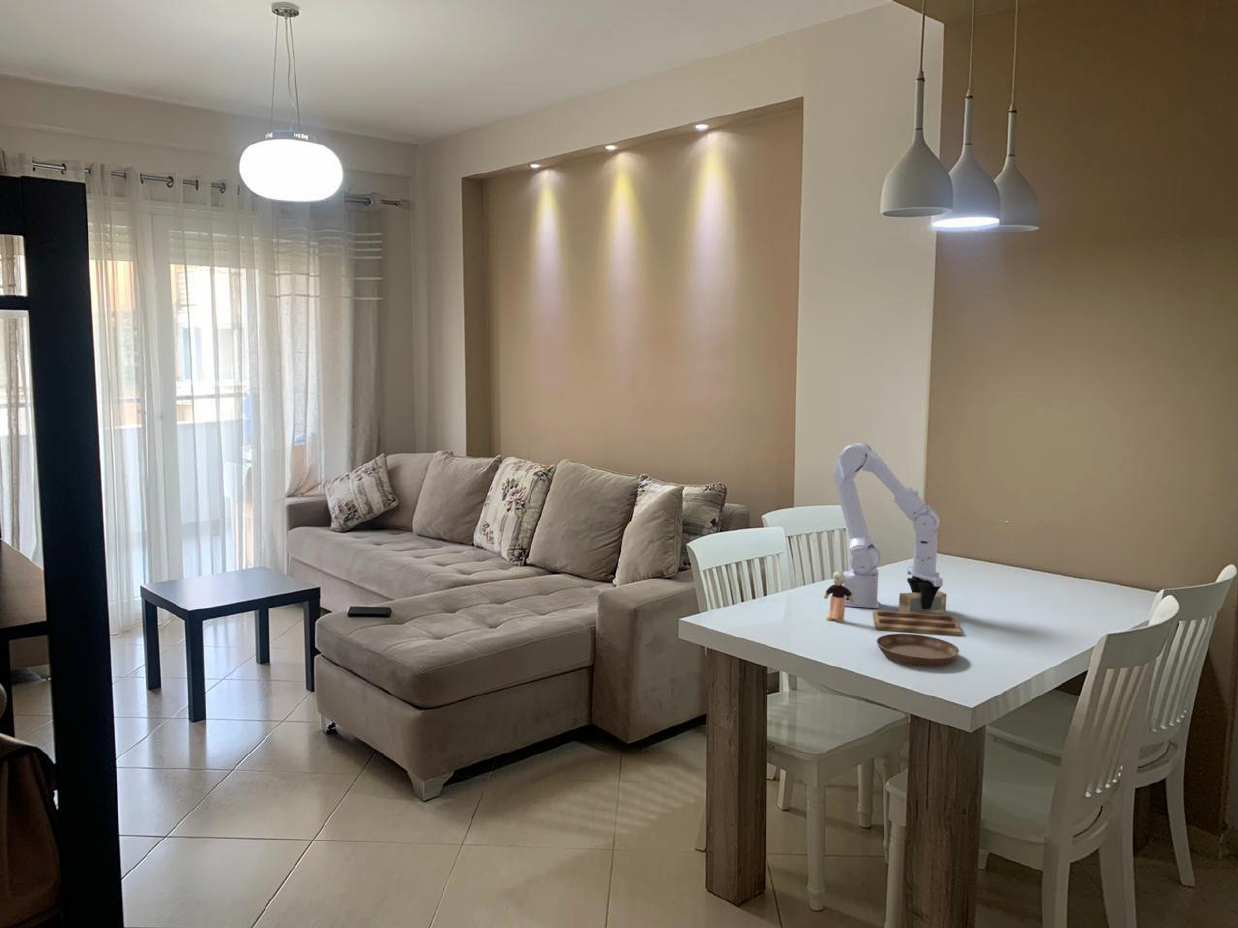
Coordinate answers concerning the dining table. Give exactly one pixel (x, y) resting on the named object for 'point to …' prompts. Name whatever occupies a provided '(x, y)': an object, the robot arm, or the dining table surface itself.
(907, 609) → the beige long rectangular block
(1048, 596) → the dining table surface
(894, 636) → the plant saucer
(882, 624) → the picture ledge
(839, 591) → the grandmother figurine
